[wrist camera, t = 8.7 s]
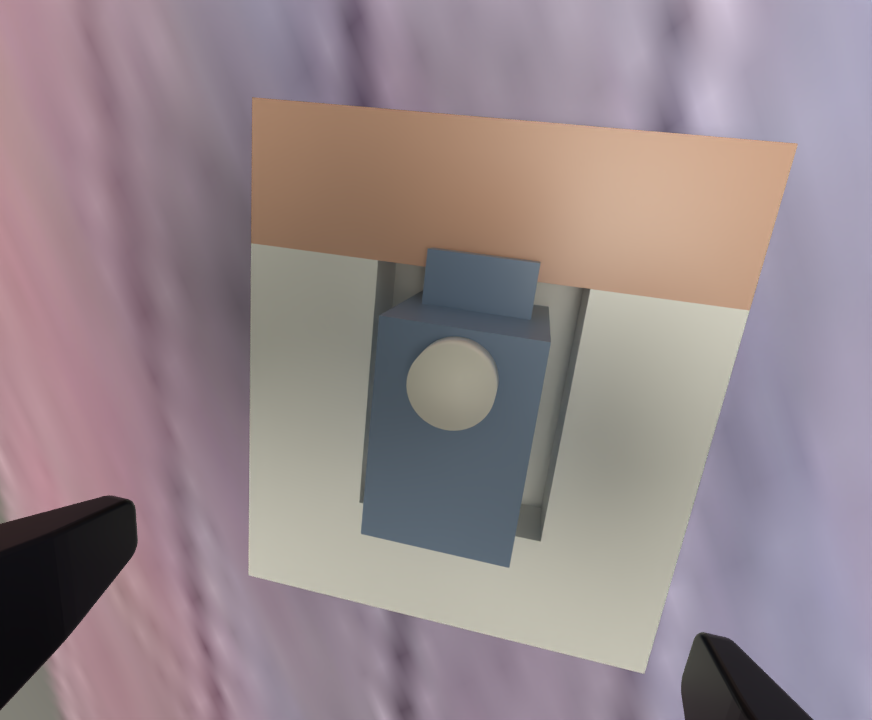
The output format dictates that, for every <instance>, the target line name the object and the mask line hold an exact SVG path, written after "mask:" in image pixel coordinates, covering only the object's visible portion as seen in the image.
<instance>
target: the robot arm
mask: <svg viewBox="0 0 872 720" xmlns="http://www.w3.org/2000/svg"><path fill="white" fill-rule="evenodd" d="M137 542H138V538H137V523H136V509H135V505H134V503H133V502H132V501H130V500H129V499H125V498H120V497H116V496H103V497H99V498H96V499H92V500H88V501H84V502H81V503H77V504H73V505H69V506H66V507H62V508H58V509H54V510H51V511H47V512H43V513H39V514H36V515H32V516H28V517H24V518H21V519H17V520H13V521H9V522H6V523H2V524H0V710H1V709H2V708H3V707H4V706H5V705H6V704H7V703H8V702H9V701H10V699H11V698H12V697H13V696H14V695H15V694H16V693H17V692H18V691H19V690H20V688H22V687H23V686H24V684H25V683H26V682H27V681H28V680H29V679H30V678H31V677H32V676H33V675H34V674H35V673H36V672H37V671H38V669H39V668H40V667H41V666H42V665H43V664H44V663H45V662H46V661H47V660H48V659H49V658H50V657H51V656H52V654H53V653H54V652H55V651H56V650H57V649H58V648H59V647H60V646H61V644H62V643H63V642H64V641H65V640H66V639H67V638H68V636H69V635H70V634H71V633H72V632H73V630H74V629H75V628H76V627H77V626H78V624H79V623H80V622H81V621H82V619H83V618H84V617H85V616H86V614H87V613H88V612H89V610H90V609H91V608H92V607H93V605H94V604H95V603H96V602H97V600H98V599H99V598H100V597H101V595H102V594H103V593H104V592H105V590H106V589H107V588H108V587H109V585H110V584H111V583H112V582H113V580H114V579H115V578H116V576H117V575H118V574H119V573H120V571H121V570H122V569H123V568H124V566H125V565H126V564H127V563H128V561H129V560H130V559H131V557H132V556H133V554H134V552H135V550H136V547H137ZM681 694H682V701H683V708H684V715H685V720H813V719H812V718H811V717H810V716H809V715H808V714H807V713H806V712H805V711H804V710H803V709H802V708H801V707H800V706H799V705H798V704H797V703H796V702H795V701H794V700H793V699H792V698H791V697H790V696H789V695H788V694H787V693H786V692H785V691H784V690H783V689H782V688H781V687H780V686H779V685H777V684H776V683H775V682H774V681H773V680H772V679H771V678H770V677H769V676H768V675H767V674H766V673H765V672H764V671H763V670H762V669H761V668H760V667H759V666H758V665H757V664H756V663H755V662H754V661H753V660H752V659H751V658H750V657H749V656H748V655H747V654H746V653H745V652H744V651H743V650H742V649H741V648H740V647H739V646H738V645H737V644H736V643H734V642H733V641H732V640H731V639H729V638H726V637H722V636H718V635H713V634H709V633H705V632H701V633H699V634H697V635H696V637H695V639H694V641H693V644H692V647H691V650H690V654H689V657H688V660H687V663H686V666H685V669H684V673H683V676H682V682H681Z"/></svg>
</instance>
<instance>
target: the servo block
mask: <svg viewBox="0 0 872 720" xmlns="http://www.w3.org/2000/svg"><path fill="white" fill-rule="evenodd" d="M539 269H540V262H539V261H532V260H524V259H517V258H509V257H502V256H494V255H486V254H479V253H471V252H464V251H456V250H449V249H441V248H434V247H432V248H428V250H427V259H426V269H425V278H424V287H423V290H422V291H421V292H419V293H417V294H415V295H414V296H412V297H410V298H408V299H407V300H405V301H403V302H402V303H400V304H398V305H396V306H395V307H393V308H391V309H389V310H388V311H386V312H384V313H382V314H381V315H379V323H378V335H377V347H376V359H375V371H374V382H373V394H372V406H371V418H370V430H369V442H368V454H367V465H366V477H365V489H364V501H363V513H362V525H361V534H363V535H368V536H372V537H376V538H381V539H385V540H389V541H394V542H398V543H402V544H407V545H411V546H416V547H420V548H424V549H429V550H433V551H437V552H442V553H446V554H450V555H455V556H459V557H463V558H468V559H472V560H477V561H481V562H485V563H490V564H494V565H498V566H503V567H507V568H509V567H510V561H511V556H512V551H513V545H514V540H515V534H516V529H517V524H518V518H519V513H520V507H521V502H522V497H523V491H524V486H525V480H526V475H527V469H528V464H529V459H530V453H531V448H532V442H533V437H534V432H535V426H536V421H537V415H538V410H539V404H540V399H541V394H542V388H543V383H544V377H545V372H546V367H547V361H548V356H549V350H550V345H551V335H550V320H549V307H548V306H541V305H534V298H535V292H536V286H537V281H538V275H539Z"/></svg>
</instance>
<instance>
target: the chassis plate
mask: <svg viewBox="0 0 872 720" xmlns="http://www.w3.org/2000/svg"><path fill="white" fill-rule="evenodd" d="M797 145H798V144H795V143H783V142H771V141H759V140H748V139H736V138H724V137H712V136H701V135H689V134H677V133H665V132H654V131H642V130H630V129H618V128H607V127H595V126H583V125H571V124H559V123H548V122H536V121H524V120H512V119H501V118H489V117H477V116H465V115H454V114H442V113H430V112H418V111H407V110H395V109H383V108H371V107H359V106H348V105H336V104H324V103H312V102H301V101H289V100H277V99H265V98H254V97H252V201H251V328H250V456H249V576H253V577H257V578H261V579H265V580H269V581H274V582H278V583H282V584H286V585H290V586H294V587H298V588H302V589H306V590H310V591H314V592H318V593H322V594H326V595H330V596H334V597H338V598H342V599H346V600H350V601H354V602H358V603H362V604H366V605H370V606H374V607H378V608H382V609H386V610H390V611H394V612H398V613H402V614H406V615H410V616H414V617H418V618H422V619H426V620H430V621H434V622H438V623H442V624H446V625H450V626H454V627H458V628H462V629H466V630H470V631H474V632H478V633H482V634H486V635H490V636H494V637H498V638H502V639H506V640H510V641H514V642H518V643H522V644H526V645H531V646H535V647H539V648H543V649H547V650H551V651H555V652H559V653H563V654H567V655H571V656H575V657H579V658H583V659H587V660H591V661H595V662H599V663H603V664H607V665H611V666H615V667H619V668H623V669H627V670H631V671H635V672H639V673H643V674H644V673H645V670H646V666H647V663H648V659H649V656H650V653H651V649H652V646H653V642H654V639H655V635H656V632H657V628H658V625H659V621H660V618H661V615H662V611H663V608H664V604H665V601H666V597H667V594H668V590H669V587H670V583H671V580H672V577H673V573H674V570H675V566H676V563H677V559H678V556H679V552H680V549H681V545H682V542H683V539H684V535H685V532H686V528H687V525H688V521H689V518H690V514H691V511H692V507H693V504H694V501H695V497H696V494H697V490H698V487H699V483H700V480H701V476H702V473H703V469H704V466H705V463H706V459H707V456H708V452H709V449H710V445H711V442H712V438H713V435H714V431H715V428H716V425H717V421H718V418H719V414H720V411H721V407H722V404H723V400H724V397H725V393H726V390H727V387H728V383H729V380H730V376H731V373H732V369H733V366H734V362H735V359H736V355H737V352H738V349H739V345H740V342H741V338H742V335H743V331H744V328H745V324H746V321H747V317H748V314H749V311H750V307H751V304H752V300H753V297H754V293H755V290H756V286H757V283H758V279H759V276H760V273H761V269H762V266H763V262H764V259H765V255H766V252H767V248H768V245H769V241H770V238H771V235H772V231H773V228H774V224H775V221H776V217H777V214H778V210H779V207H780V203H781V200H782V197H783V193H784V190H785V186H786V183H787V179H788V176H789V172H790V169H791V165H792V162H793V159H794V155H795V152H796V148H797ZM432 247H434V248H441V249H449V250H456V251H464V252H471V253H479V254H486V255H494V256H502V257H509V258H517V259H524V260H532V261H539V262H540V269H539V275H538V281H537V286H536V292H535V298H534V305H541V306H548V307H549V320H550V335H551V345H550V350H549V356H548V361H547V367H546V372H545V377H544V383H543V388H542V394H541V399H540V404H539V410H538V415H537V421H536V426H535V432H534V437H533V442H532V448H531V453H530V459H529V464H528V469H527V475H526V480H525V486H524V491H523V497H522V502H521V507H520V513H519V518H518V524H517V529H516V534H515V540H514V545H513V551H512V556H511V561H510V567H509V568H507V567H503V566H498V565H494V564H490V563H485V562H481V561H477V560H472V559H468V558H463V557H459V556H455V555H450V554H446V553H442V552H437V551H433V550H429V549H424V548H420V547H416V546H411V545H407V544H402V543H398V542H394V541H389V540H385V539H381V538H376V537H372V536H368V535H363V534H361V525H362V513H363V501H364V489H365V477H366V465H367V454H368V442H369V430H370V418H371V406H372V394H373V382H374V371H375V359H376V347H377V335H378V323H379V315H381V314H382V313H384V312H386V311H388V310H389V309H391V308H393V307H395V306H396V305H398V304H400V303H402V302H403V301H405V300H407V299H408V298H410V297H412V296H414V295H415V294H417V293H419V292H421V291H422V290H423V287H424V278H425V269H426V259H427V250H428V248H432Z"/></svg>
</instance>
